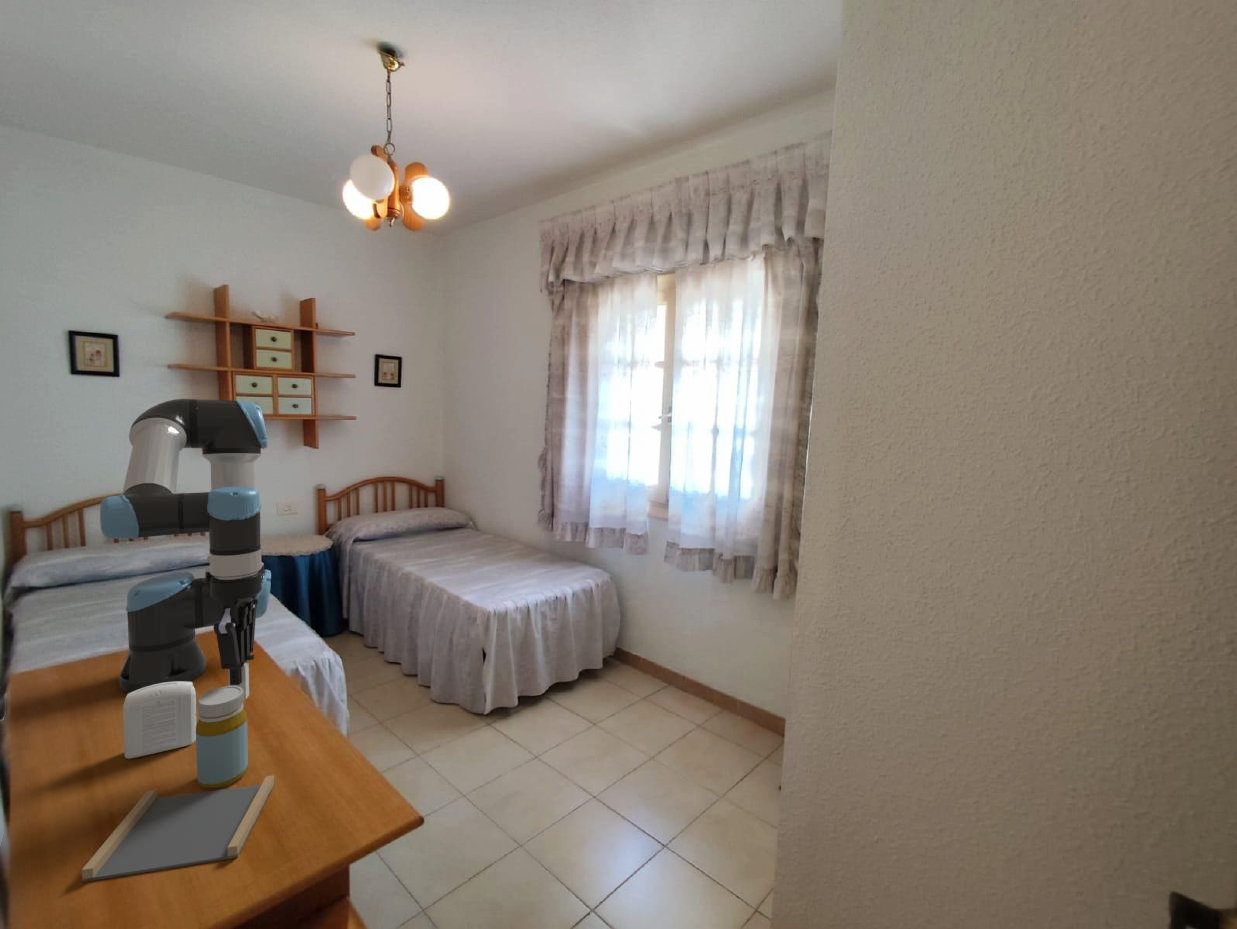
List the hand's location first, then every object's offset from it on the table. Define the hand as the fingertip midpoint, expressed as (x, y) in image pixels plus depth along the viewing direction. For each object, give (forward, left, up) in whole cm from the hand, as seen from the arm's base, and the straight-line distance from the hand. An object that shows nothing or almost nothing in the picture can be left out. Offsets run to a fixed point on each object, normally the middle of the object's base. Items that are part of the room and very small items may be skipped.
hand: (239, 697), depth 97 cm
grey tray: (+18, 0, -11) cm, 21 cm away
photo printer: (-4, -14, -11) cm, 18 cm away
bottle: (+7, 0, -11) cm, 13 cm away
